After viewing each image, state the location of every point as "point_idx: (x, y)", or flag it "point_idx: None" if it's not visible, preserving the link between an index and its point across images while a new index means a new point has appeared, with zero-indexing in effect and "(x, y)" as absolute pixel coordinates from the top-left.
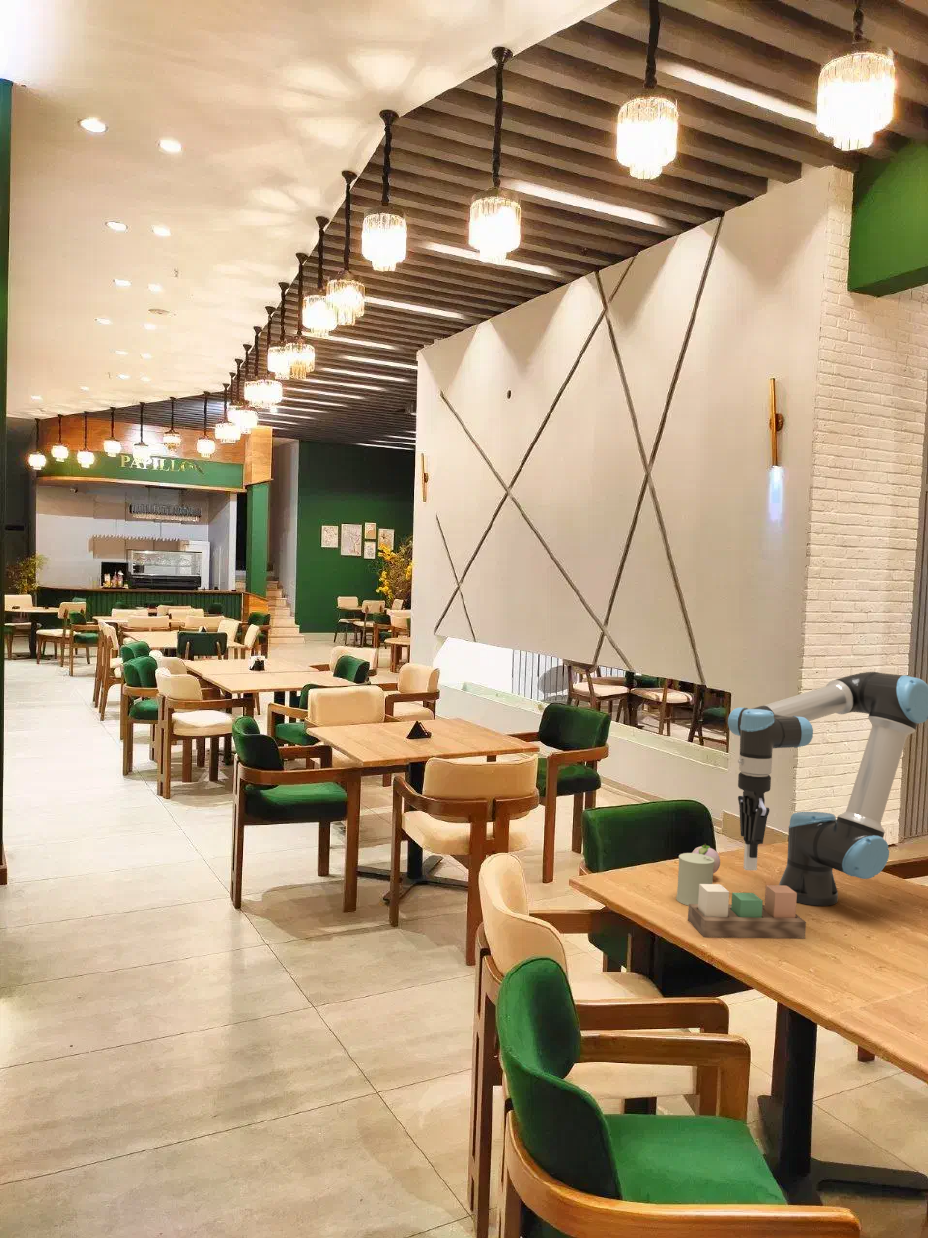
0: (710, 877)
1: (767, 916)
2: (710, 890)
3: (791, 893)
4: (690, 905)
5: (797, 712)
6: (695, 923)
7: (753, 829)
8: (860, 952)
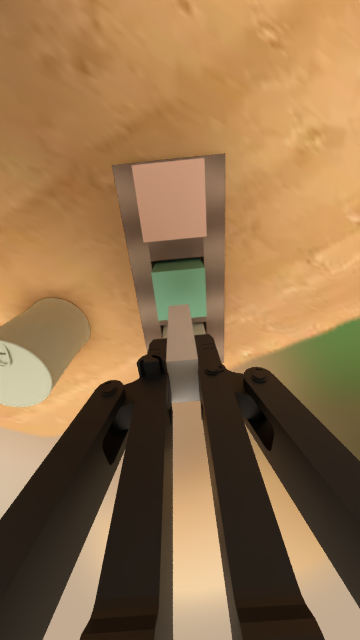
0: (49, 333)
1: (196, 245)
2: None
3: (204, 179)
4: None
5: None
6: None
7: (294, 492)
8: (299, 26)
